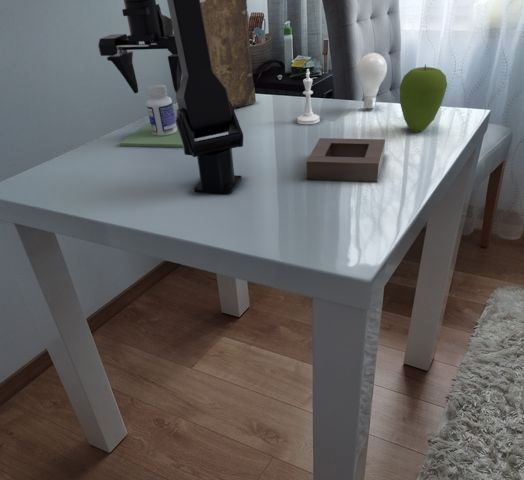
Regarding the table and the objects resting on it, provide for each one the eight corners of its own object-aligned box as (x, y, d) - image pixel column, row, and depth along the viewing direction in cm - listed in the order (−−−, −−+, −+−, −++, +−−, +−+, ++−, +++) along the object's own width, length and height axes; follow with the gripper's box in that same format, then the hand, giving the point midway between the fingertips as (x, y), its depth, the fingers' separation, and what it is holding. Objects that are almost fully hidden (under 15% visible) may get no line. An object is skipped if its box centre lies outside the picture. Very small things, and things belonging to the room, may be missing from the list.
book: (199, 119, 115) (180, -15, 99) (184, 113, 120) (163, -16, 104) (258, 103, 122) (249, -24, 106) (241, 98, 127) (231, -25, 111)
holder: (377, 182, 81) (378, 163, 80) (306, 179, 84) (306, 161, 82) (383, 156, 90) (385, 139, 88) (319, 154, 93) (319, 138, 91)
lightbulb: (364, 104, 116) (367, 49, 109) (389, 107, 113) (394, 50, 106) (349, 111, 112) (351, 55, 105) (374, 114, 109) (378, 57, 102)
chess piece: (294, 124, 108) (293, 72, 101) (299, 117, 111) (298, 66, 105) (317, 124, 106) (317, 71, 100) (321, 117, 110) (322, 66, 104)
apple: (445, 135, 96) (456, 67, 89) (401, 138, 96) (408, 71, 89) (433, 121, 103) (442, 57, 95) (391, 124, 103) (397, 61, 96)
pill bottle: (179, 128, 109) (172, 82, 104) (174, 135, 105) (165, 89, 100) (155, 129, 110) (147, 84, 104) (149, 136, 106) (140, 90, 100)
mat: (182, 147, 101) (182, 144, 101) (120, 145, 105) (119, 142, 104) (206, 125, 111) (206, 122, 111) (149, 125, 115) (148, 122, 115)
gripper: (202, -8, 96) (213, 82, 106) (115, -3, 101) (133, 83, 111) (179, 0, 88) (193, 96, 98) (86, 4, 93) (108, 97, 103)
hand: (156, 92), depth 103 cm, fingers open, 9 cm apart
